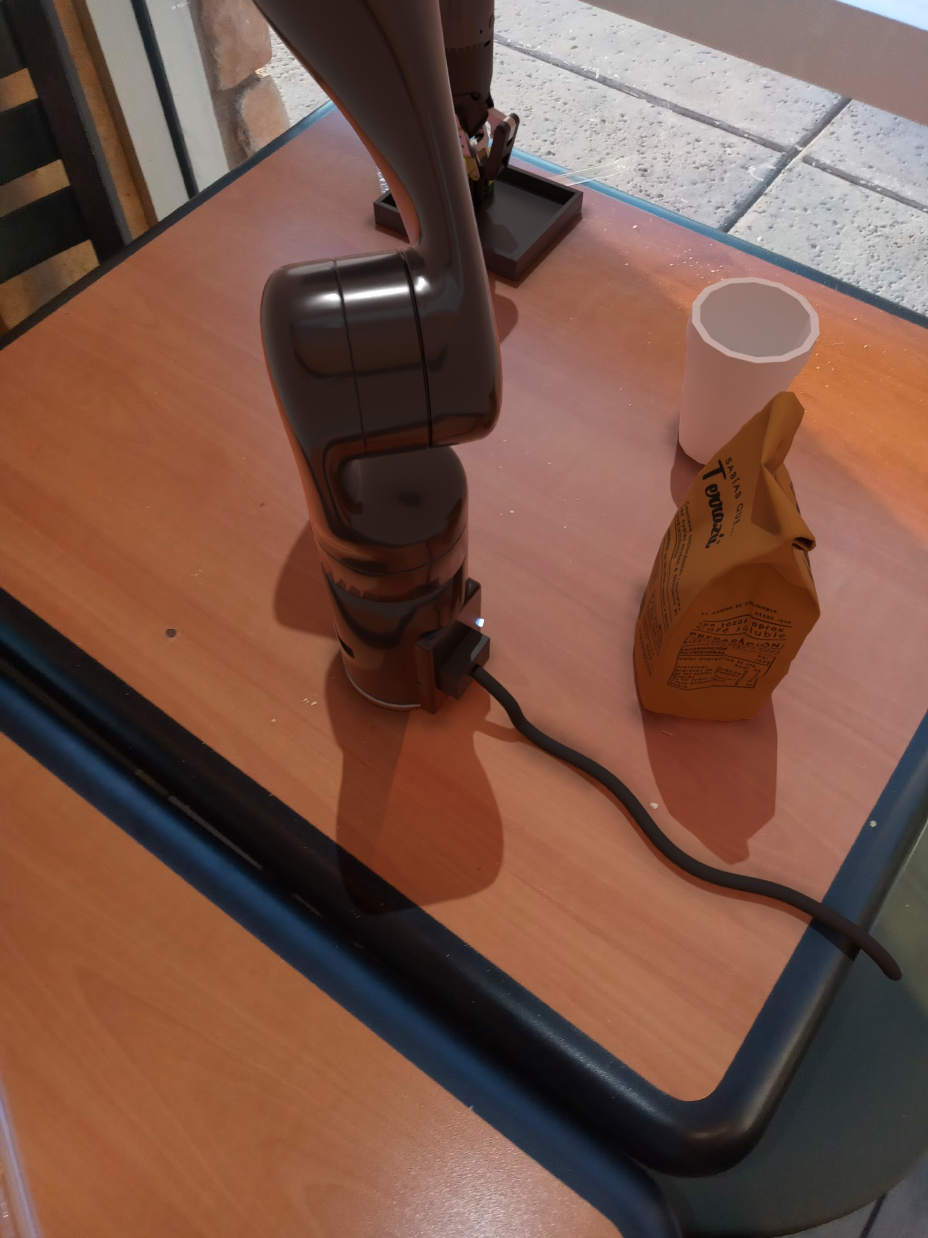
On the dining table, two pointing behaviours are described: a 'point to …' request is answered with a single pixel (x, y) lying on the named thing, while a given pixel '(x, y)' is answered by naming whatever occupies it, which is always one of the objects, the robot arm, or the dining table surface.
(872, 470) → the dining table surface
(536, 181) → the tray
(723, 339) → the foam cup
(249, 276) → the dining table surface
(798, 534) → the coffee package
